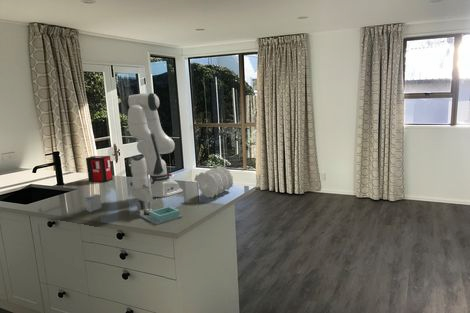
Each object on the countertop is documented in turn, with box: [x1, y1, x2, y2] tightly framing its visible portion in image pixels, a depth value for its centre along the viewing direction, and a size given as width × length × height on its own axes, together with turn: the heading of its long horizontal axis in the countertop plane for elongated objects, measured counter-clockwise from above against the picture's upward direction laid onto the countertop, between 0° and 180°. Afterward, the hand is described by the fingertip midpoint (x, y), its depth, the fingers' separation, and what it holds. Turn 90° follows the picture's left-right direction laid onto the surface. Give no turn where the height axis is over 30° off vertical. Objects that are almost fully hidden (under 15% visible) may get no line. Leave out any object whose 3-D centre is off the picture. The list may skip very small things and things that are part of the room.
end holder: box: [149, 205, 181, 221], centre depth 196 cm, size 12×11×3 cm
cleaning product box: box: [85, 155, 114, 183], centre depth 297 cm, size 16×9×20 cm, turn 77°
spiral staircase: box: [194, 165, 234, 199], centre depth 237 cm, size 18×18×25 cm
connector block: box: [136, 200, 151, 213], centre depth 212 cm, size 6×4×6 cm
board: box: [138, 208, 183, 226], centre depth 199 cm, size 15×21×4 cm
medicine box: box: [84, 193, 103, 213], centre depth 219 cm, size 8×4×9 cm, turn 150°
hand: (143, 206), depth 212 cm, fingers open, 6 cm apart
